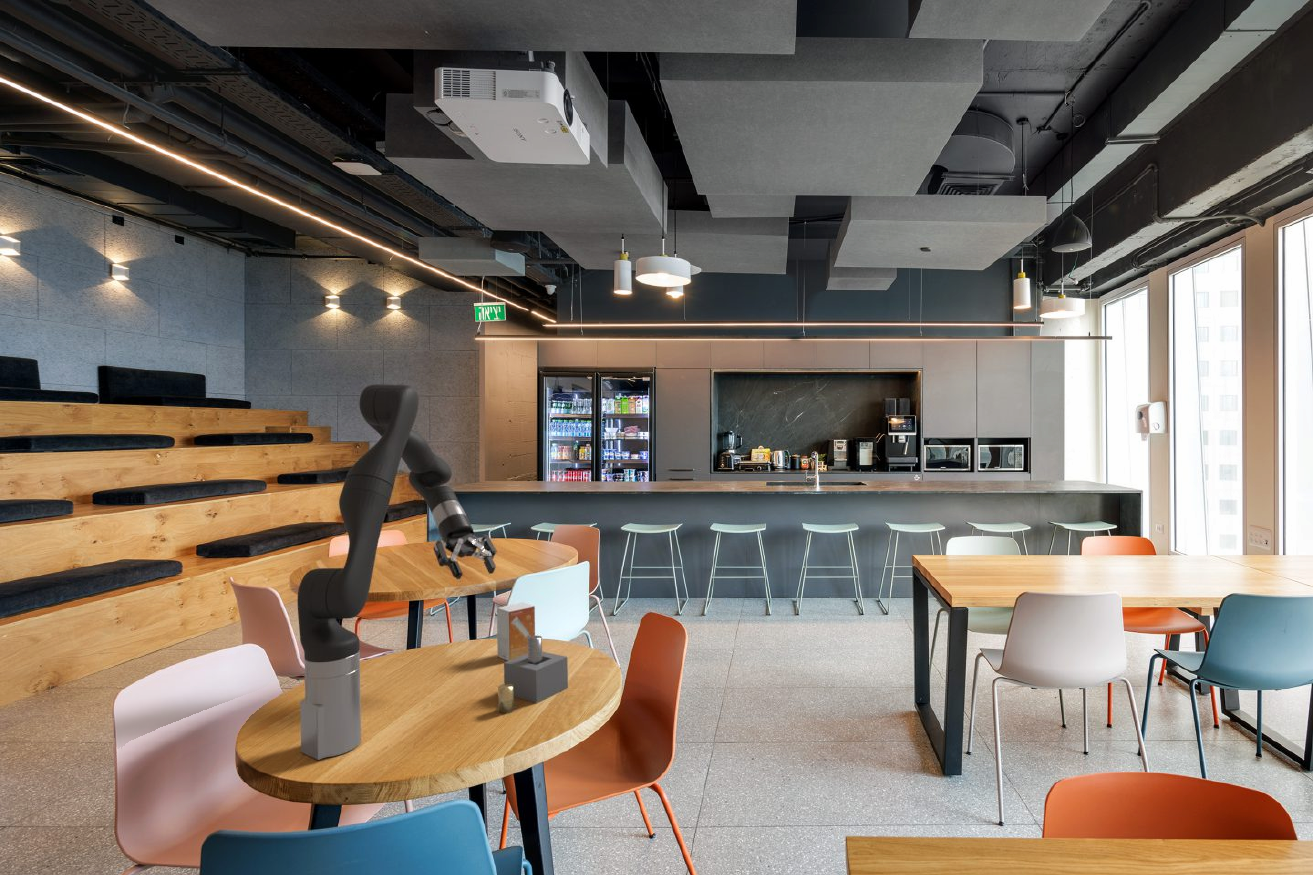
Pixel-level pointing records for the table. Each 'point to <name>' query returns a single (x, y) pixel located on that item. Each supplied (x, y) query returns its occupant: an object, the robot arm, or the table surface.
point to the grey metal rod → (534, 649)
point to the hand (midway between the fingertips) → (476, 574)
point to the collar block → (537, 676)
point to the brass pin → (505, 698)
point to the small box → (514, 629)
